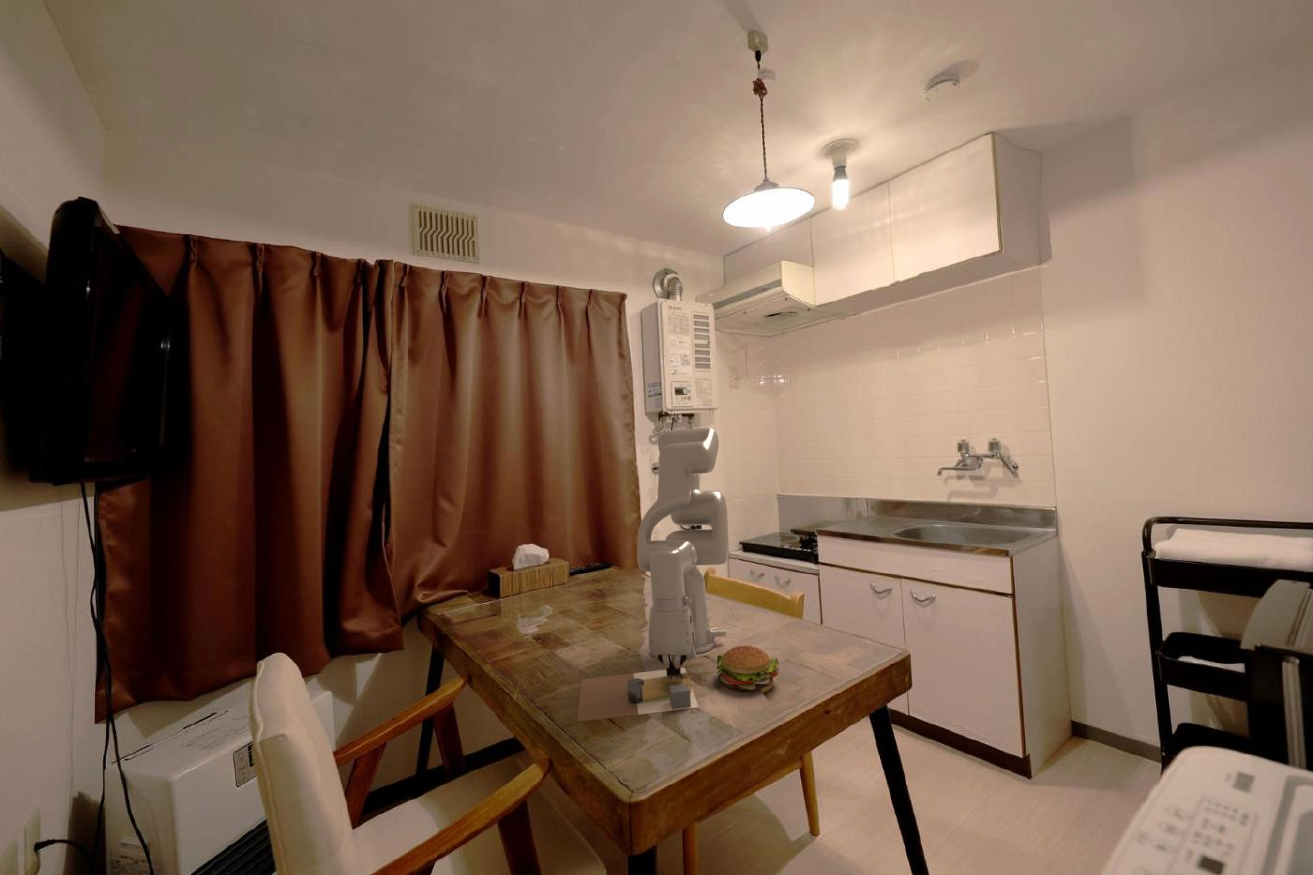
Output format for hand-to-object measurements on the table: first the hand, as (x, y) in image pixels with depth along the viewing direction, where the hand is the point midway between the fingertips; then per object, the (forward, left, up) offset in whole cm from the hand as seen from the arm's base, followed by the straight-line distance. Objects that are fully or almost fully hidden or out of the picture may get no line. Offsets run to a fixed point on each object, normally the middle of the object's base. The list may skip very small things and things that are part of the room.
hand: (674, 683), depth 116 cm
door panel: (+9, +1, -2) cm, 9 cm away
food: (-17, +1, -2) cm, 17 cm away
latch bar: (+4, +4, 0) cm, 6 cm away
